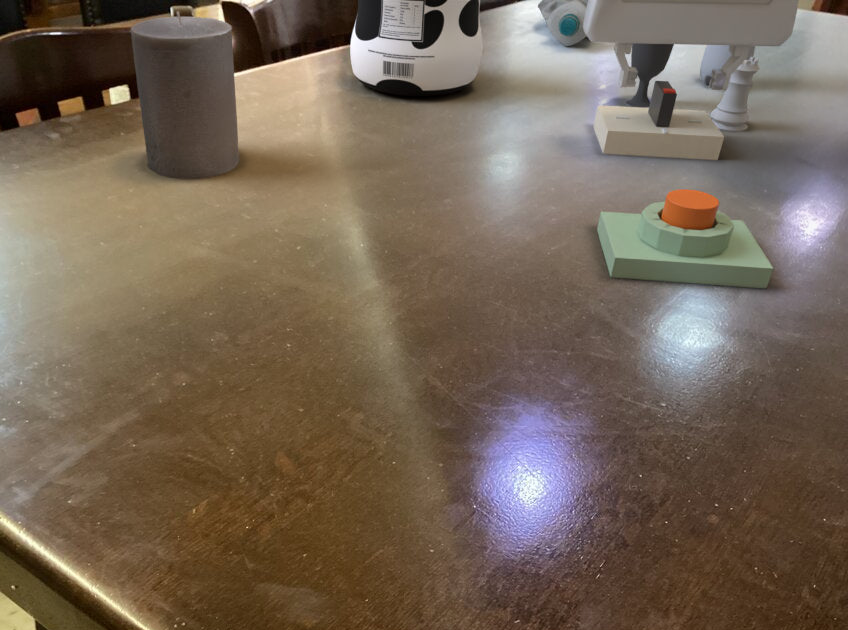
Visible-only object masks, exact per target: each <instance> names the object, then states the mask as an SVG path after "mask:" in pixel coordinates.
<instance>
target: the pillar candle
mask: <svg viewBox="0 0 848 630" xmlns="http://www.w3.org/2000/svg"><path fill="white" fill-rule="evenodd" d="M232 30H233V26H232V25H231V24H229V23H228V22H226V21H223V20H219V19H216V18H212V17H201V16H181V14H180V11H178V10H177V11H176V16H164V17H156V18H150V19H146V20H142V21H140V22H136V23H134V25H131V27H130V36H131V45H132V51H133V62H134V69H135V75H136V77H135V78H136V85H137V92H138V97H139V98H138V100H139V106H140V114H141V122H142V123H141V124H142V129H143V135H144V145H145V151H146V158H147V159H146V160H147V164H146V167H147V168H148V169H149V170H151V171H152V172H153V173H155V174H156V175H159V176H162V177H165V178H170V179H180V180H194V179H195V180H196V179H205V178H211V177H216V176H221V175H223V174H226V173H229V172H231V171H232V170H234V169H235V168H236V167H237V166H238V165H239V163H240V153H239V134H238V133H239V132H238V115H237V98H236V83H235V82H236V81H235V66H234V63H235V62H234V51H233V50H234V49H233V34H232V33H233V31H232Z"/></svg>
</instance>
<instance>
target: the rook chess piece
mask: <svg viewBox="0 0 848 630" xmlns="http://www.w3.org/2000/svg"><path fill="white" fill-rule="evenodd" d="M759 61H760V59H759V58H756V57H755V56H753V57H750V59H749V60H746V59H745V60H744V61H743V63H742V64H741V65H740V66H739V67H738V68H737V69H736V70H735V71H734V73H732V74H731V77H730V81H729V85H728V88H727V90H724V94H723V95H722V98H721V100H720V102H719V103H718V104H717V105H716V108H714V109H713V110H712V111H711V113H710V118H711V119H712V121H713V122H714V123H715V125H716V126H717V127H718V129H719V130H721V131H728V132H741V131H745V130H747V129H748V125H747V124H746V123H749V121H750V114H749V112H748V111H749V108H748V101H749V94H750V93H749V92H750V89H751V86H752V85H753V84H754V80H753V77H754V75H755V74H756V73H757V72H759V71H760V69H761V68H760V66H759Z"/></svg>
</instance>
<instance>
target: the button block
mask: <svg viewBox="0 0 848 630" xmlns="http://www.w3.org/2000/svg"><path fill="white" fill-rule="evenodd" d="M664 204H665V200H664V201H659V202H654V203H650V204H648V205H647V206H646V207H645V208H644V209H643V210H642V211H641V213H630V212H629V213H628V212H617V211H615V212H614V211H600V215H599V219H598V224H597V228H596V232H597V234H598V238H599V242H600V245H601V249H602V252H603V256H604V259H605V263H606V266H607V269H608V274H609V276H610V278H619V279H630V280H631V279H632V280H645V281H657V282H659V281H660V282H671V283H672V282H673V283H687V284H701V285H713V286H714V285H716V286H727V287H728V286H729V287H740V288H742V287H743V288H756V289H768V285H769V282H770V281H771V278H772V274H773V271H774V267H773V265H772V263H771V262H770V261H769V259H768V257H767V256H766V254H765V253H764V251H763V250H762V248H761V246H760V245H759V243H758V242H757V240H756V238H755V237H754V235H753V234H752V233H751V231H750V229H749V228H748V226H747V225H746V223H745V222H744V220H739V219H731V217H730V216H729V215H727V214H725V213H724V212H722V211H720V210H719V209H718V210H717V213H716V216H715V220H714V223H713V226H712V228H711V229H706V230H689V229H683V228H679V227H675V226H671V225H669V224H667V223H665V222H664V221H662V220H661V216H662V212H663V208H664Z"/></svg>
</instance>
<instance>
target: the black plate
mask: <svg viewBox="0 0 848 630" xmlns="http://www.w3.org/2000/svg"><path fill="white" fill-rule="evenodd" d="M677 97H678V93H677V91H676V89H675V88H674V87H673V86H672V84H671V83H670V82H669V80H655V81H654V85H653V89H652V92H651V97H650V100H649V101H650V106H649V107H648V108H649V110H648V113H649V115H650V117H651V118H652V120H653V122H654V124H655V126H658V127H669V125H670V121H671V117H672V113H673V109H675V105H676V102H677V101H676V100H677Z"/></svg>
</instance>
